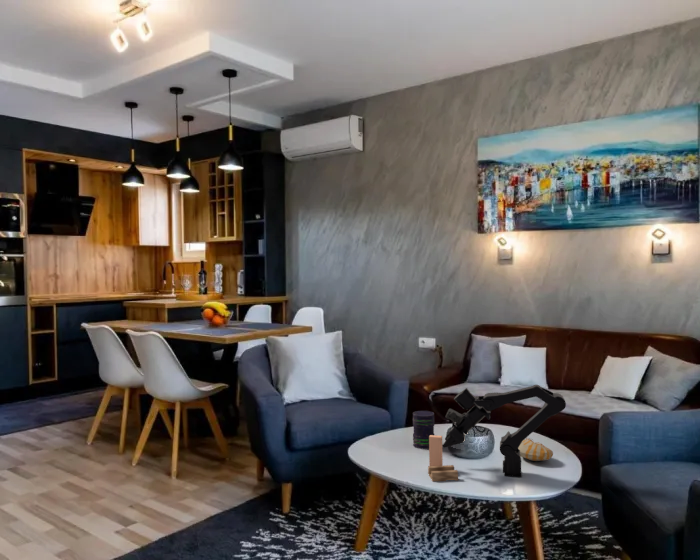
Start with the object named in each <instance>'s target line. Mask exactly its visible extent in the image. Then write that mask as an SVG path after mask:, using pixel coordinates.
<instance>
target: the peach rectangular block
mask: <svg viewBox="0 0 700 560" xmlns="http://www.w3.org/2000/svg"><path fill="white" fill-rule="evenodd" d="M442 445H443V435H435V434H434V435H430V436H429V449H428V450H429V453H428V455H429V458H428V459H429V465H428V466H444V465H443V463H444V462H443V460H444V459H443V446H442Z"/></svg>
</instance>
